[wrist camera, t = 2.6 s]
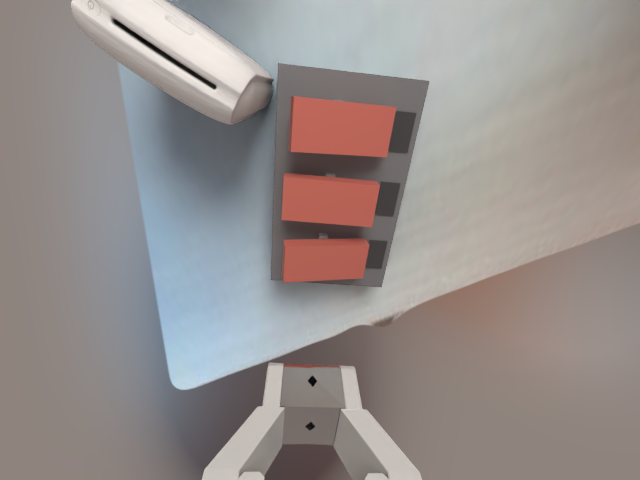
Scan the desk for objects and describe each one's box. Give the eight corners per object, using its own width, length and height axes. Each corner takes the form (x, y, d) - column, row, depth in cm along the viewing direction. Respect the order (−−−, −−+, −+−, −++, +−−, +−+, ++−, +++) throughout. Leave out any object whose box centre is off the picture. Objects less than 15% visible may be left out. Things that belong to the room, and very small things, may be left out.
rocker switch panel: (413, 82, 28) (432, 81, 24) (374, 267, 37) (382, 290, 32) (282, 66, 27) (277, 62, 23) (274, 260, 36) (270, 282, 32)
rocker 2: (376, 181, 26) (380, 185, 25) (369, 221, 28) (372, 227, 27) (284, 172, 26) (283, 176, 25) (282, 213, 28) (281, 219, 26)
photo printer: (153, 51, 26) (37, 25, 15) (171, 0, 25) (58, -73, 13) (259, 121, 29) (227, 142, 18) (282, 79, 27) (262, 73, 16)
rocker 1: (388, 106, 24) (396, 107, 23) (379, 153, 26) (386, 157, 25) (290, 95, 22) (293, 96, 21) (288, 148, 24) (290, 151, 23)
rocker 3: (364, 238, 30) (369, 244, 29) (358, 270, 32) (362, 278, 30) (283, 239, 28) (285, 246, 27) (281, 274, 29) (283, 282, 28)
